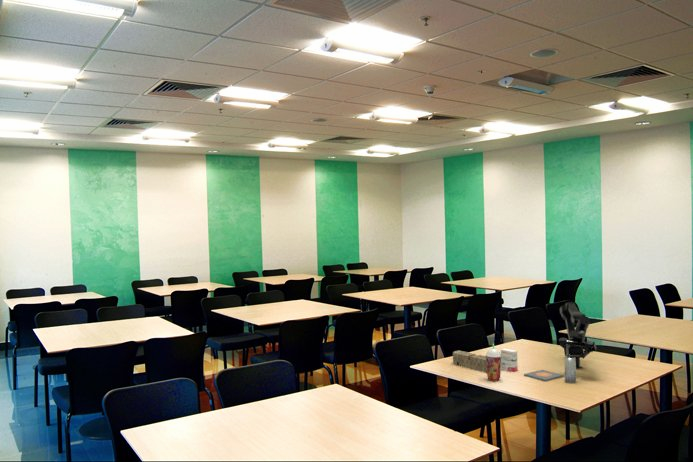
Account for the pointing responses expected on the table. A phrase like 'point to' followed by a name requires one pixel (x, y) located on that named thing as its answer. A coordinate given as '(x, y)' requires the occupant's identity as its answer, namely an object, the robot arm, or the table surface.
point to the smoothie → (493, 364)
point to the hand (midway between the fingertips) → (574, 356)
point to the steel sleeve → (570, 369)
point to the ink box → (509, 360)
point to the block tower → (470, 360)
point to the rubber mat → (543, 375)
